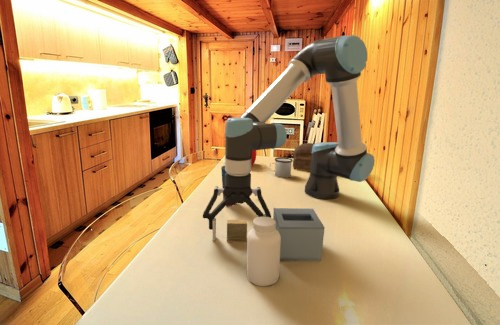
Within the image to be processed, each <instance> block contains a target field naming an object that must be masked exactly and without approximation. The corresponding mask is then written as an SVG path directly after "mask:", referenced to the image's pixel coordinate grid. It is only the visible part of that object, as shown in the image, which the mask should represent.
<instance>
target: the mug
mask: <svg viewBox="0 0 500 325" xmlns="http://www.w3.org/2000/svg"><path fill="white" fill-rule="evenodd" d="M274 161H275V162H270V163H269V166H271V164H275V165H274V166H275V167H274V168H275V170H272V169H269V171H270V172H274V175H275V177H277V178H281V179H284V178H285V179H286V178H291V174H292V163H293V159H292V158H290V157H285V156H283V157H282V156H280V157H275V158H274Z"/></svg>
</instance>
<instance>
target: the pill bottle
mask: <svg viewBox="0 0 500 325" xmlns="http://www.w3.org/2000/svg"><path fill="white" fill-rule="evenodd" d="M252 227H253V228H251V229H250V230H249V231H248V232H247V242H246V245H247V246H246V277H247V279H248V281H249V282H251V283H252V284H253V285H255V286H259V287H269V286H271V285H274V284H275V283H276V282H277V281H278V280H279V278H280V277H279V276H280V265H281V264H280V263H281V262H280V244H281V237H280V234H279V232H278V231H277V230H276V221H275V220H274V219H273V217H271V218H270V217H258V216H257V217H255V218H254V219H253V221H252Z"/></svg>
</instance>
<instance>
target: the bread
mask: <svg viewBox="0 0 500 325" xmlns="http://www.w3.org/2000/svg"><path fill="white" fill-rule="evenodd" d="M314 144H316V143H315V142H313V143H311V142H310V143H309V142H308V143H302V144H299V145H297V147H295V148H294V150H293V153H292V154H293V159H292V160H293V161H292V168H293V170H297V171H299V170H300V171H305V172H310V168H311V154H312V153H311V152H312V148H313V145H314Z"/></svg>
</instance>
